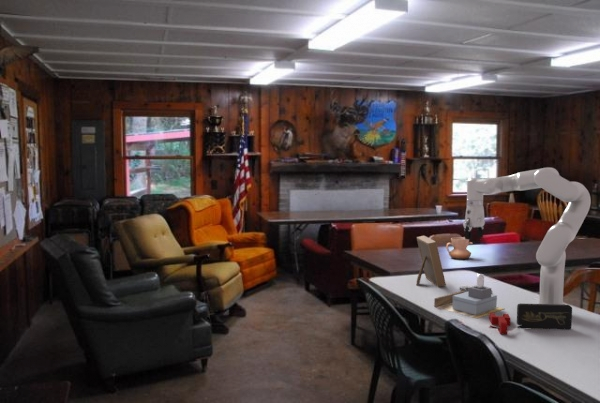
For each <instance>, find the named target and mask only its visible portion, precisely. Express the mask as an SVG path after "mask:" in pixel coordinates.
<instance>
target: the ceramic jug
mask: <svg viewBox="0 0 600 403" xmlns="http://www.w3.org/2000/svg"><path fill="white" fill-rule="evenodd" d="M450 241H451V242H447V243H446V246H445V248H446V251H447V252H448V255H449V257H451V258H453V259H455V260H466V259H469V258H470V257H471V255H472V252H471V251H469V250H468V249H467V248H468V246H469V245H473V242H471V241H470V240H469V239H465V236H463V237H462V236H461V237H460V236H459V237H451V238H450ZM449 245H450V246H452V247H453V249H451V250H450V249H449Z"/></svg>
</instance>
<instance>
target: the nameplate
mask: <svg viewBox="0 0 600 403" xmlns="http://www.w3.org/2000/svg"><path fill="white" fill-rule="evenodd" d="M572 320H573V307H572V306H571V305H570V304H565V305H562V304H539V303H520V302H519V303H517V305H516V324H517V325H518V326H517V328H519V329H526V328H531V329H532V330H535V329H536V330H561V331H562V330H563V331H565V330H566V331H567V330H568V331H569V330H572V326H573V325H572ZM531 329H530V330H531Z"/></svg>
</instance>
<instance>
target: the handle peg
mask: <svg viewBox="0 0 600 403" xmlns="http://www.w3.org/2000/svg"><path fill="white" fill-rule="evenodd" d="M476 286H477V289H481V290H482V289H484V286H485V274H483V273H477V274H476Z"/></svg>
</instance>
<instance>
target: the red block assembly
mask: <svg viewBox="0 0 600 403" xmlns="http://www.w3.org/2000/svg"><path fill="white" fill-rule="evenodd" d="M495 313H496V312H495ZM495 313H489V314H488V320H489V321H490V324H491V325H490V328H491V329H493V330H494V329H497V330H498V332H499V334H500V335H507V334H508V330H509V329H508V327H511V316H510V315H509V314H508V313H502V315H501V316H499V315H496V314H495Z"/></svg>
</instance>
